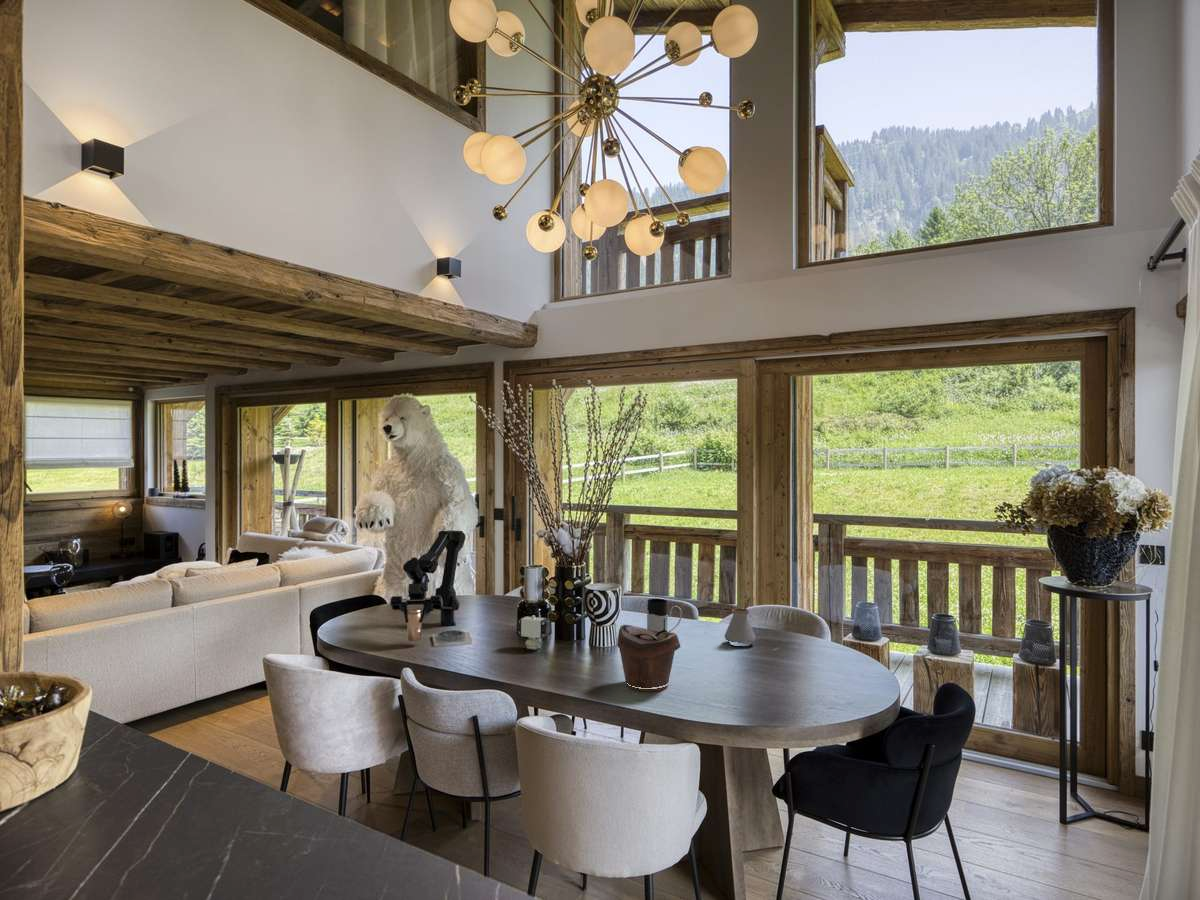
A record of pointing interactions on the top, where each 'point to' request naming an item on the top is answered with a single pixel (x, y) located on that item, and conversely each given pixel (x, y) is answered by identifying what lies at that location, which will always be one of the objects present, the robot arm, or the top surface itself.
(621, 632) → the brown flower pot
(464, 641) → the duct collar plate
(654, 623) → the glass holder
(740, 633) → the coffee pot
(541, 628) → the pneumatic valve
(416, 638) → the copper cylindrical jar
